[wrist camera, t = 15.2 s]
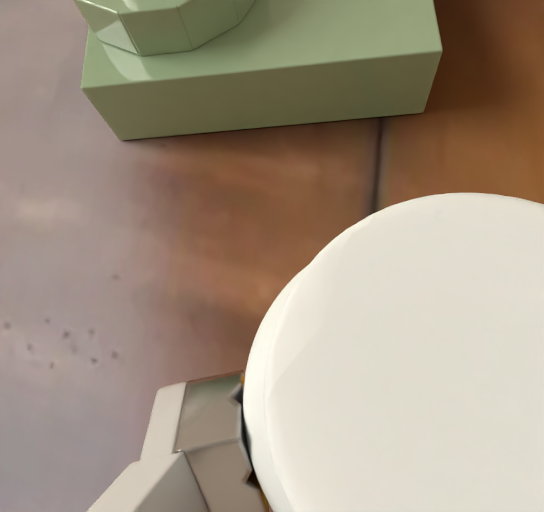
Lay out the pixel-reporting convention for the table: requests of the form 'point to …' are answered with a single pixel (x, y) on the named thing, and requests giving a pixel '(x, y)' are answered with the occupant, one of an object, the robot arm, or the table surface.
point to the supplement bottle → (407, 365)
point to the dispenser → (255, 62)
